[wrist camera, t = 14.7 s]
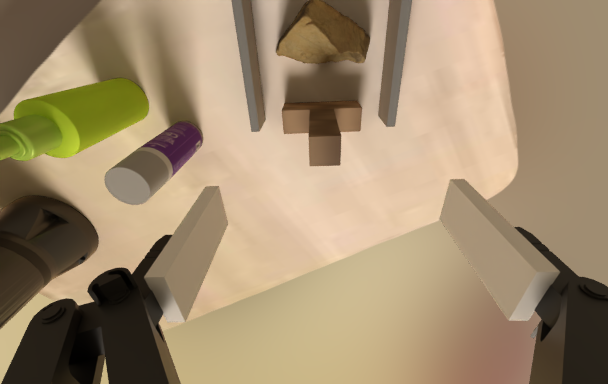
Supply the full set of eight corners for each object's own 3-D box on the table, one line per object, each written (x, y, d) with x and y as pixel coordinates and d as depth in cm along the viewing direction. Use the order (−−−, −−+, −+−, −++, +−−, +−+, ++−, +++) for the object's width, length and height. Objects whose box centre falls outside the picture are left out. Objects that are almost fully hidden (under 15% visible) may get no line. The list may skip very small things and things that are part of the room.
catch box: (258, 120, 38) (251, 131, 34) (235, -45, 29) (222, -59, 24) (385, 115, 37) (394, 126, 33) (404, -57, 28) (421, -73, 23)
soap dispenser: (141, 71, 35) (-22, 110, 18) (153, 123, 39) (26, 196, 21) (96, 67, 35) (-111, 102, 18) (112, 119, 38) (-48, 189, 21)
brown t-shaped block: (286, 124, 38) (274, 167, 26) (284, 103, 37) (271, 138, 25) (356, 122, 38) (376, 164, 26) (357, 100, 36) (379, 134, 24)
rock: (398, 27, 30) (333, -47, 26) (384, 81, 26) (306, 6, 22) (336, 78, 39) (280, 29, 34) (320, 123, 35) (256, 75, 31)
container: (194, 117, 38) (133, 160, 25) (208, 146, 40) (160, 200, 27) (165, 125, 39) (92, 172, 26) (181, 154, 41) (121, 210, 28)
